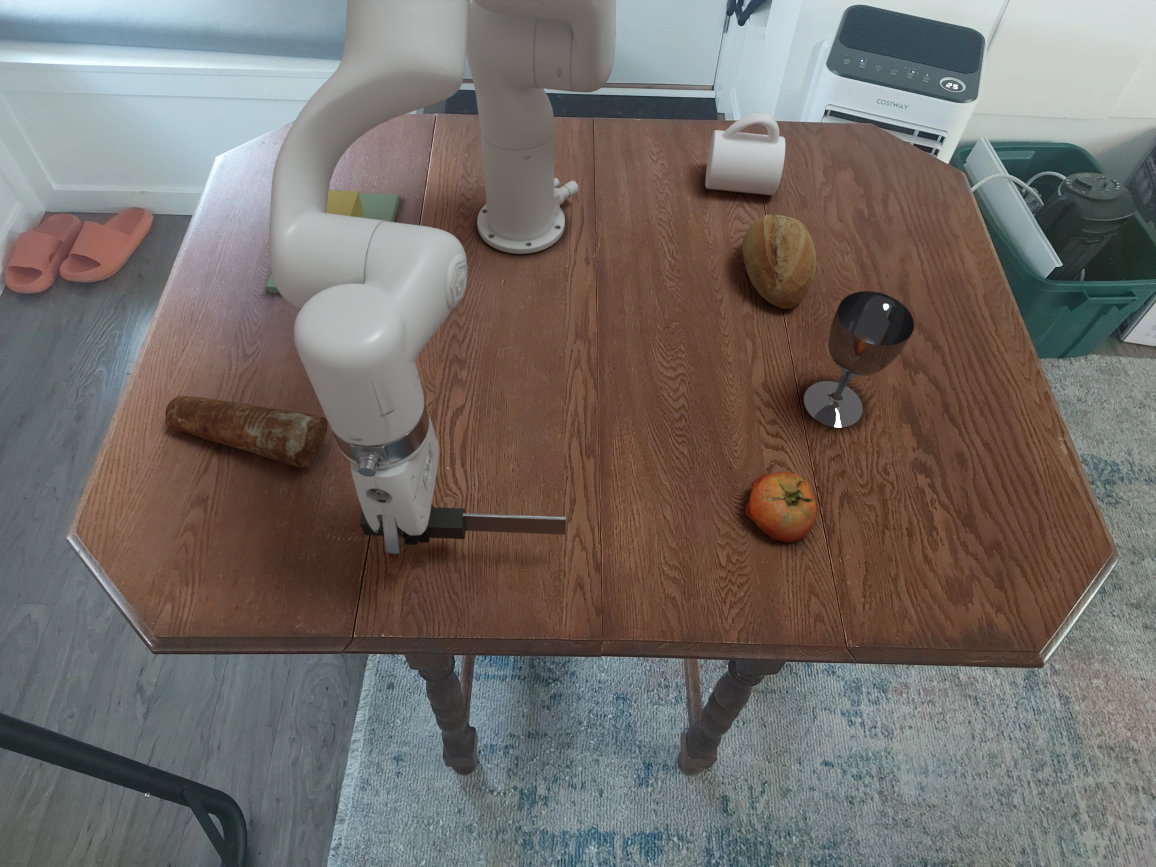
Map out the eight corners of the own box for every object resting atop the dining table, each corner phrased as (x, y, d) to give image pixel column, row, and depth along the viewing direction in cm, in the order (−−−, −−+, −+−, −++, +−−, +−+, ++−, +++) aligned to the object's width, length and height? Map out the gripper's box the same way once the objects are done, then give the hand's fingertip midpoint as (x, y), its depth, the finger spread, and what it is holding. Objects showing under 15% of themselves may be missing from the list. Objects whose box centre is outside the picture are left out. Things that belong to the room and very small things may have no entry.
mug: (705, 166, 119) (719, 94, 109) (771, 173, 118) (791, 101, 108) (704, 199, 114) (718, 127, 104) (773, 206, 113) (793, 134, 103)
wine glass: (869, 388, 93) (917, 301, 81) (862, 438, 89) (911, 354, 77) (805, 371, 95) (842, 283, 82) (795, 419, 90) (832, 334, 78)
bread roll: (745, 316, 100) (759, 270, 93) (729, 240, 109) (741, 194, 102) (817, 316, 100) (835, 270, 94) (795, 240, 109) (811, 194, 102)
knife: (364, 535, 75) (357, 520, 72) (368, 515, 76) (361, 500, 74) (565, 543, 75) (565, 528, 72) (566, 523, 76) (566, 508, 74)
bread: (313, 480, 84) (298, 453, 79) (163, 436, 87) (141, 407, 82) (339, 436, 87) (327, 407, 83) (195, 395, 90) (176, 365, 86)
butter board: (304, 197, 112) (295, 167, 108) (399, 201, 112) (393, 171, 108) (268, 293, 100) (255, 263, 96) (373, 297, 100) (365, 268, 96)
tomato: (769, 555, 78) (766, 488, 77) (732, 535, 84) (729, 473, 83) (832, 539, 81) (831, 473, 79) (792, 521, 87) (789, 460, 86)
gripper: (411, 510, 56) (442, 604, 71) (441, 346, 65) (463, 460, 80) (310, 506, 56) (363, 600, 71) (353, 342, 65) (392, 457, 80)
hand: (415, 525), depth 75 cm, fingers closed on knife, 2 cm apart
